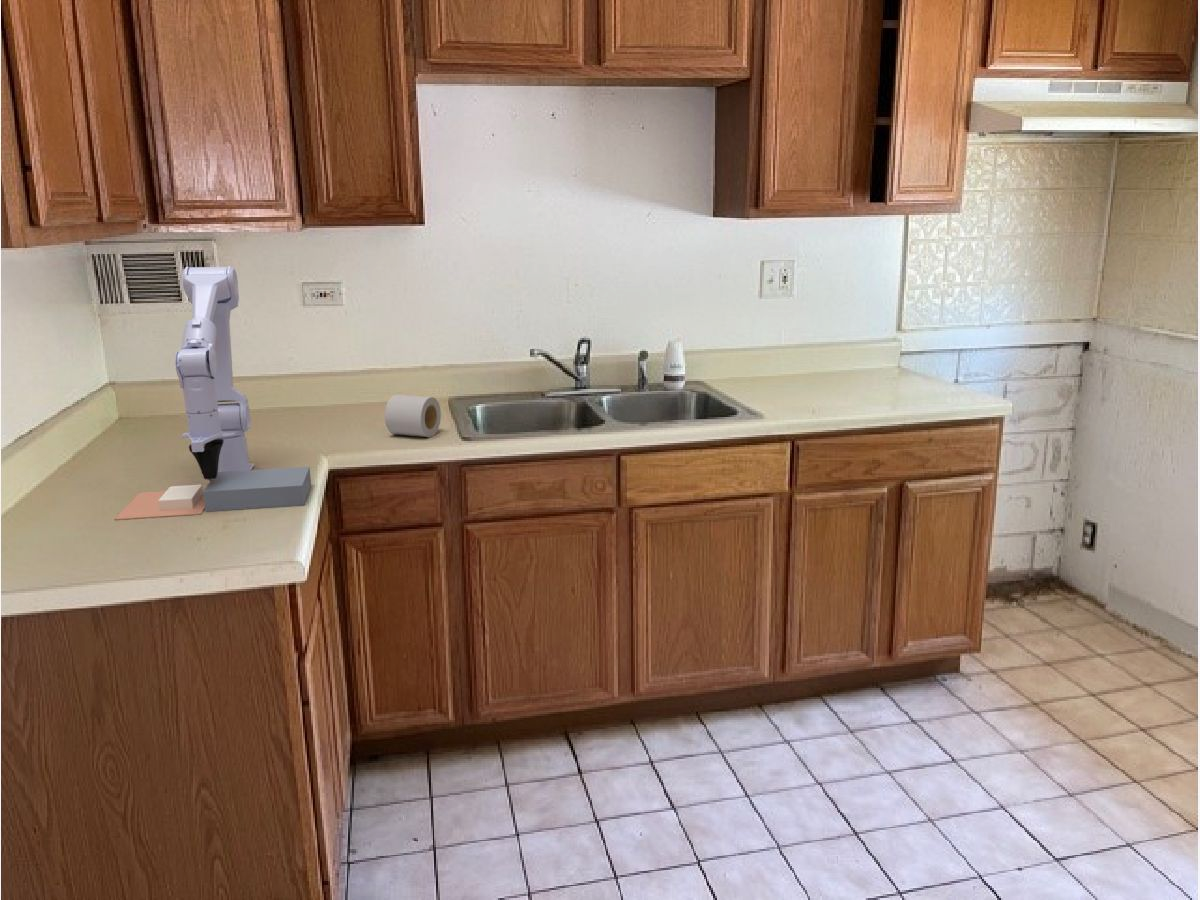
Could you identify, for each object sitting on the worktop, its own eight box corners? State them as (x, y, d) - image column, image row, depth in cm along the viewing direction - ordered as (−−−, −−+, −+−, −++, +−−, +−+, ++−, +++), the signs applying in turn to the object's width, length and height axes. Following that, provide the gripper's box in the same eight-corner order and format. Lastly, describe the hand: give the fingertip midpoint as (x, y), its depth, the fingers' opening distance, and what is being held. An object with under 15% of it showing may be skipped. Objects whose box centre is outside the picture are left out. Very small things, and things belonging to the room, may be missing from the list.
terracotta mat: (140, 493, 181) (139, 492, 181) (218, 488, 184) (218, 487, 184) (115, 520, 166) (114, 519, 166) (201, 514, 169) (200, 513, 169)
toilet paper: (386, 438, 223) (383, 399, 220) (407, 428, 232) (404, 391, 230) (422, 441, 220) (419, 401, 217) (441, 431, 229) (439, 393, 226)
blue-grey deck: (219, 490, 183) (217, 472, 182) (311, 485, 186) (309, 466, 185) (205, 511, 171) (202, 491, 169) (304, 505, 174) (302, 485, 173)
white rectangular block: (202, 484, 180) (203, 494, 180) (170, 486, 179) (171, 496, 179) (191, 498, 171) (193, 508, 172) (157, 500, 170) (159, 510, 171)
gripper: (188, 403, 178) (197, 468, 182) (170, 420, 164) (179, 490, 168) (226, 401, 179) (234, 466, 183) (211, 418, 166) (219, 488, 169)
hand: (210, 478), depth 175 cm, fingers closed
